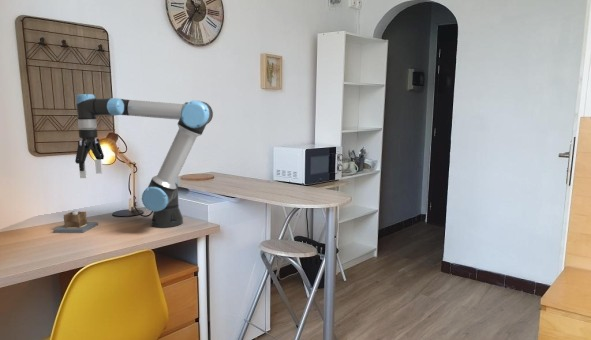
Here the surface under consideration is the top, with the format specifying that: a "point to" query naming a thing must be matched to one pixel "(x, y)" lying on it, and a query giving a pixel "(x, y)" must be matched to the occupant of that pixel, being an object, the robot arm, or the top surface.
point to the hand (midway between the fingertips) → (91, 175)
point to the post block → (76, 230)
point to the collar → (75, 220)
